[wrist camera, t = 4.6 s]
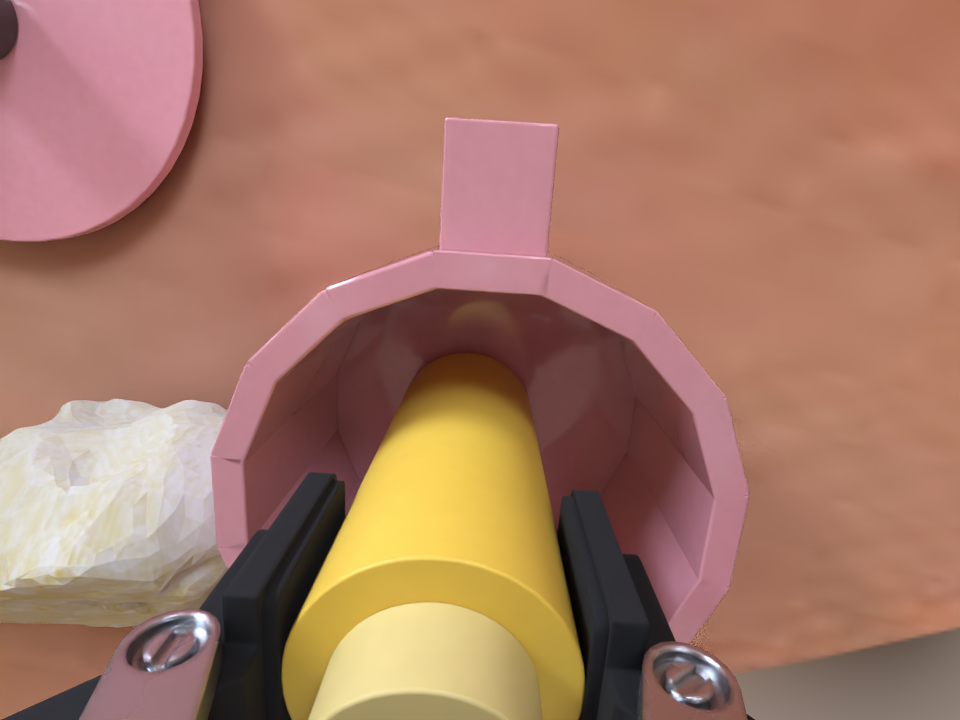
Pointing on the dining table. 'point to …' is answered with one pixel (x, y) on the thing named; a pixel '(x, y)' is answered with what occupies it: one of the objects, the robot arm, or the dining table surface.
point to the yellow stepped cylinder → (443, 570)
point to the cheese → (109, 514)
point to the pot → (520, 347)
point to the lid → (91, 109)
